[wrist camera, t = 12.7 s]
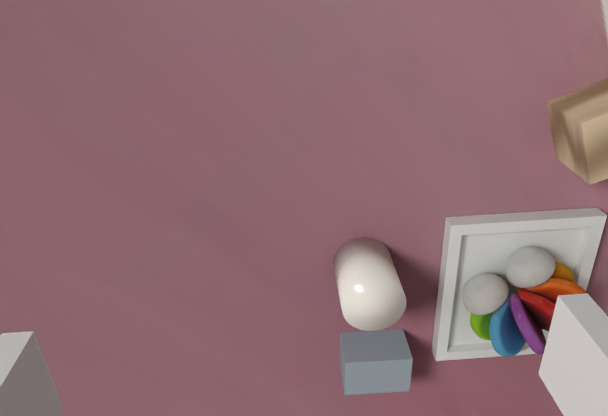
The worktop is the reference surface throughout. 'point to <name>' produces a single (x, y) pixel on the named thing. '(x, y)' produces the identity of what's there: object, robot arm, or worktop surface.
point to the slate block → (375, 362)
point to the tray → (504, 264)
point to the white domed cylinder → (368, 285)
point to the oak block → (582, 130)
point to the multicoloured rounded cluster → (518, 301)
